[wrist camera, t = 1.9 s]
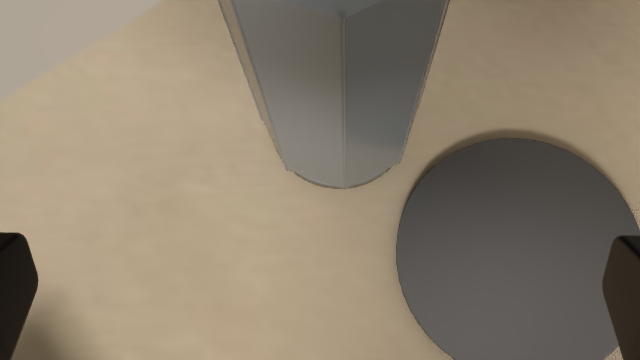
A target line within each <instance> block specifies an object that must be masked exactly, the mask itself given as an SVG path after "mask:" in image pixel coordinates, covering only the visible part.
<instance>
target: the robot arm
mask: <svg viewBox="0 0 640 360" xmlns="http://www.w3.org/2000/svg"><path fill="white" fill-rule="evenodd" d="M37 287H38V274H37V270H36V267H35V264H34V261H33V258H32V255H31V251H30V248H29V245H28V242H27V240H26V238H25V237H24V235H22V234H20V233H3V232H0V360H11V359H12V356H13V353H14V350H15V348H16V345H17V342H18V340H19V337H20V334H21V332H22V329H23V326H24V324H25V321H26V318H27V316H28V313H29V310H30V308H31V305H32V302H33V299H34V297H35V294H36V291H37ZM602 290H603V295H604V299H605V302H606V305H607V308H608V312H609V315H610V318H611V321H612V325H613V328H614V331H615V334H616V338H617V341H618V344H619V347H620V351H621V354H622V357H623V360H640V235H619V236H617V237H616V238H615V239H614V240H613V242H612V245H611V249H610V253H609V256H608V260H607V264H606V268H605V272H604V275H603V280H602Z"/></svg>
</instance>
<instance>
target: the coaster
mask: <svg viewBox="0 0 640 360" xmlns="http://www.w3.org/2000/svg"><path fill="white" fill-rule="evenodd" d="M619 235H640V230H639V228H638V225H637V223H636V220H635V218H634V215H633V214H632V212H631V210H630V208H629V207H628V205H627V203H626V201H625V200H624V199H623V197H622V196H621V194H620V193H619V192H618V190H617V189H616V188H615V187H614V186H613V185H612V183H611V182H610V181H609V180H608V179H607V178H606V177H605V176H604V175H603V174H602V173H600V172H599V171H598V170H597V169H596V168H594V167H593V166H592V165H591V164H589V163H588V162H586V161H584V160H583V159H581V158H580V157H578V156H576V155H574V154H572V153H570V152H569V151H567V150H565V149H562V148H559V147H557V146H554V145H551V144H548V143H544V142H539V141H535V140H528V139H519V138H504V139H495V140H488V141H484V142H480V143H476V144H473V145H470V146H468V147H465V148H463V149H460V150H458V151H457V152H455V153H453V154H451V155H450V156H448V157H446V158H445V159H444V160H442V161H441V162H440V163H438V164H437V165H436V166H434V167H433V168H432V169H431V170H430V171H429V172H428V173H427V174H426V175H425V176H424V178H423V179H422V180H421V182H420V183H419V184H418V186H417V187H416V188H415V190H414V192H413V193H412V195H411V197H410V199H409V200H408V202H407V205H406V207H405V210H404V212H403V215H402V218H401V221H400V225H399V229H398V235H397V244H396V263H397V270H398V276H399V281H400V284H401V288H402V291H403V294H404V297H405V299H406V301H407V304H408V306H409V308H410V310H411V312H412V314H413V315H414V317H415V319H416V320H417V322H418V324H419V325H420V326H421V327H422V329H423V330H424V331H425V333H426V334H427V335H428V336H429V338H430V339H431V340H432V341H433V342H434V343H435V344H437V345H438V346H439V347H440V348H441V349H442V350H443V351H444V352H446V353H447V354H448V355H449V356H451V357H452V358H453V359H455V360H603V359H604V358H605V357H607V356H608V355H609V354H610V353H611V352H613V351H614V350H615V348H616V347H617V346H618V345H619V344H618V341H617V338H616V334H615V331H614V328H613V325H612V321H611V318H610V315H609V312H608V308H607V305H606V302H605V299H604V295H603V290H602V280H603V275H604V272H605V268H606V264H607V260H608V256H609V253H610V249H611V245H612V242H613V240H614V239H615V238H616V237H617V236H619Z"/></svg>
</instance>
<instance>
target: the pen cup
mask: <svg viewBox="0 0 640 360" xmlns="http://www.w3.org/2000/svg"><path fill="white" fill-rule="evenodd" d="M449 1H450V0H218V2H219V5H220V8H221V11H222V13H223V16H224V19H225V22H226V24H227V27H228V30H229V32H230V35H231V38H232V41H233V43H234V46H235V49H236V52H237V54H238V57H239V60H240V62H241V65H242V68H243V71H244V73H245V76H246V79H247V82H248V84H249V87H250V90H251V93H252V95H253V98H254V101H255V103H256V106H257V109H258V112H259V114H260V117H261V120H262V121H263V122H264V124H265V126H266V128H267V130H268V132H269V135H270V137H271V139H272V141H273V143H274V146H275V148H276V151H277V152H278V154H279V156H280V158H281V159H282V161H283V163H284V165H285V168H286V170H287V171H291V172H294V173H295V174H296V175H298V176H299V177H301V178H302V179H304V180H306V181H308V182H310V183H313V184H315V185H318V186H322V187H326V188H334V189H346V188H353V187H357V186H361V185H364V184H367V183H369V182H371V181H373V180H375V179H377V178H379V177H380V176H382V175H383V174H384V173H386V172H387V171H388V170H389V169H390V168H391V167H392V166H394V165H396V164H398V163H400V162H401V159H402V156H403V152H404V149H405V145H406V143H407V140H408V136H409V133H410V130H411V127H412V124H413V121H414V118H415V115H416V111H417V110H418V108H419V104H420V101H421V97H422V94H423V90H424V87H425V84H426V80H427V77H428V73H429V70H430V66H431V63H432V60H433V56H434V53H435V49H436V46H437V42H438V39H439V36H440V32H441V29H442V25H443V22H444V19H445V15H446V12H447V8H448V5H449Z"/></svg>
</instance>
